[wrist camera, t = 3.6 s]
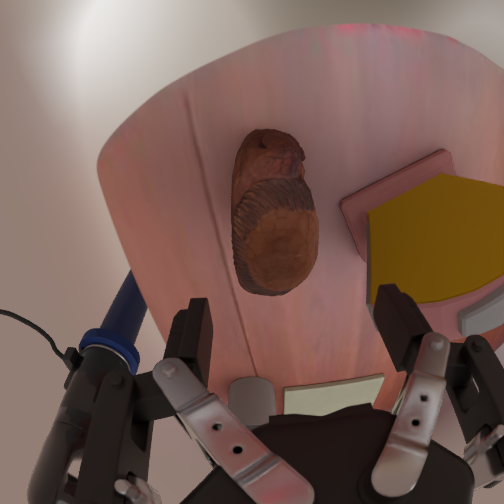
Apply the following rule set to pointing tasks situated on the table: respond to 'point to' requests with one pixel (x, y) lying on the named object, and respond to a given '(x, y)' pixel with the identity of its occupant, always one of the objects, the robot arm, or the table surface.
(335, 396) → the mat
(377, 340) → the table surface
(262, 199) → the wooden figurine
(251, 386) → the cup
